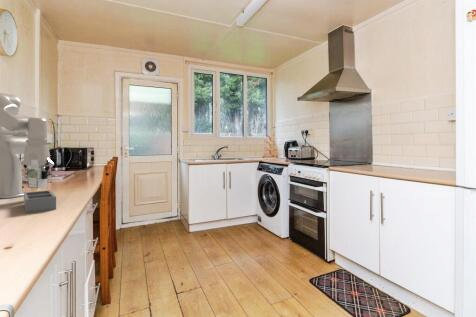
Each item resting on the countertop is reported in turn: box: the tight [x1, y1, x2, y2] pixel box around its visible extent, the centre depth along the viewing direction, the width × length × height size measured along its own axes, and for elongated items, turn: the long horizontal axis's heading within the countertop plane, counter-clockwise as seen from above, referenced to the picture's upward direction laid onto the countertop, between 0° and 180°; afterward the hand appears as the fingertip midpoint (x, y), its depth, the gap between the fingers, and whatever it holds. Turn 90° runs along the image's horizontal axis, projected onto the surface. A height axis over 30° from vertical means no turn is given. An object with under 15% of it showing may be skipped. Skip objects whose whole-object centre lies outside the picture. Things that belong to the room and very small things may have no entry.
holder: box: [23, 190, 57, 214], centre depth 111 cm, size 19×10×6 cm, turn 42°
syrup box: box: [27, 160, 48, 189], centre depth 126 cm, size 6×6×14 cm
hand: (37, 178), depth 126 cm, fingers closed on syrup box, 6 cm apart
